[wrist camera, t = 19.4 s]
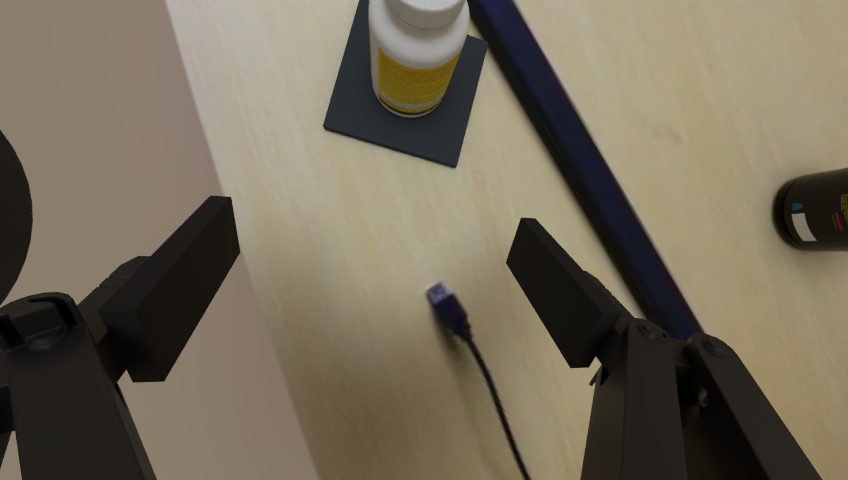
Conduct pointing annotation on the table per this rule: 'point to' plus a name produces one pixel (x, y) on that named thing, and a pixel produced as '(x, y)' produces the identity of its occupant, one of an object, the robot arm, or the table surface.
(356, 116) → the mat
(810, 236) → the supplement container
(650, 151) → the table surface
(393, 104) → the supplement bottle
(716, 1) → the table surface
